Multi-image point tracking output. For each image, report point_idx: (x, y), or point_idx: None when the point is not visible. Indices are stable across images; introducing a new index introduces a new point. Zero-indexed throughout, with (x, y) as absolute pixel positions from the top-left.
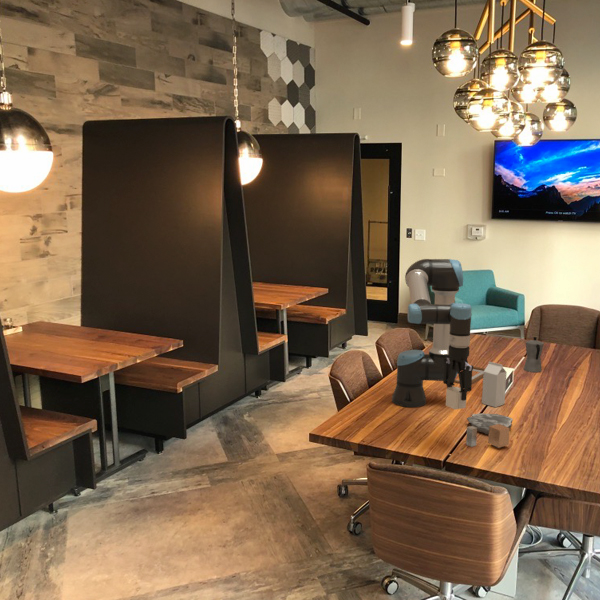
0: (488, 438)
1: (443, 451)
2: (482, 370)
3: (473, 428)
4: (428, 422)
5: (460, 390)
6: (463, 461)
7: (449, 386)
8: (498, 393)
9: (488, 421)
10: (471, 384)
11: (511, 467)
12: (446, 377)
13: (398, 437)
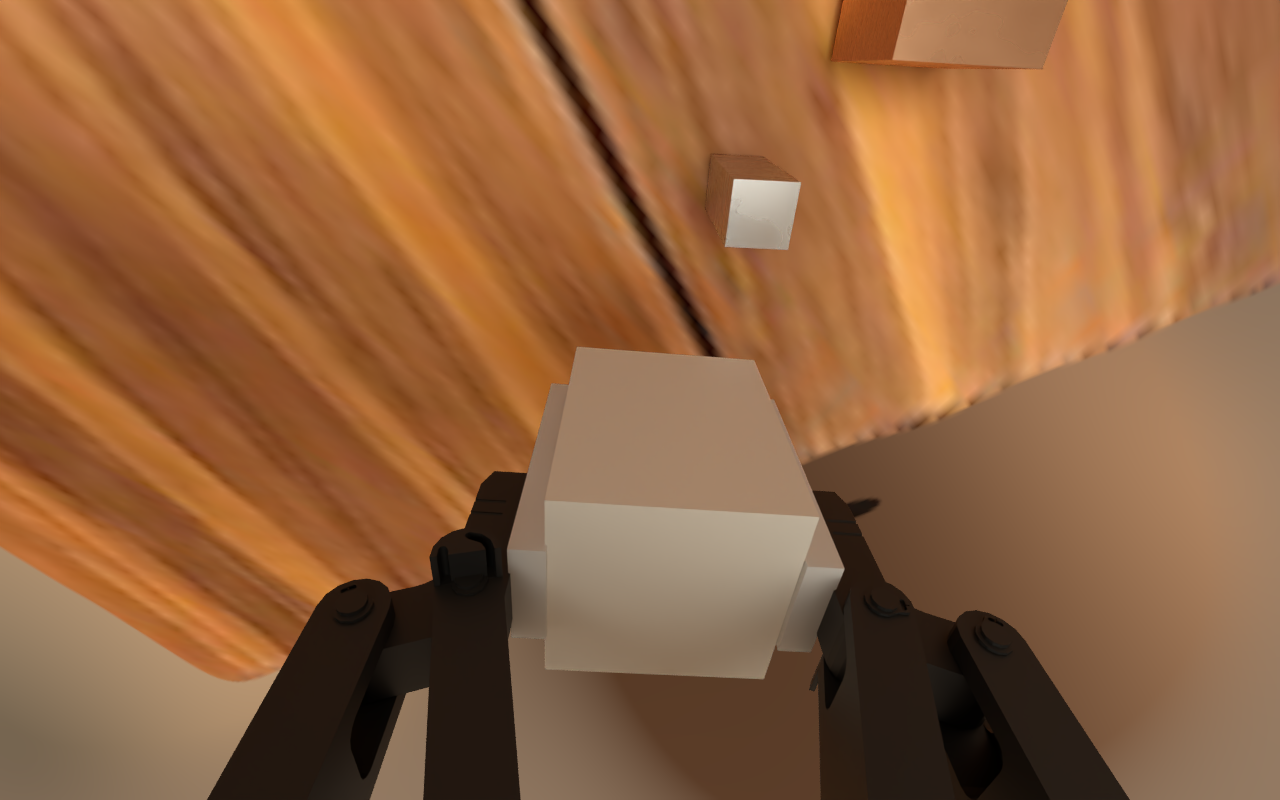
0: (844, 60)
1: None
2: None
3: (784, 222)
4: (182, 102)
5: (742, 588)
6: (848, 409)
7: (509, 627)
8: None
9: None
10: (1100, 760)
11: (1119, 246)
12: (362, 796)
13: (402, 465)
